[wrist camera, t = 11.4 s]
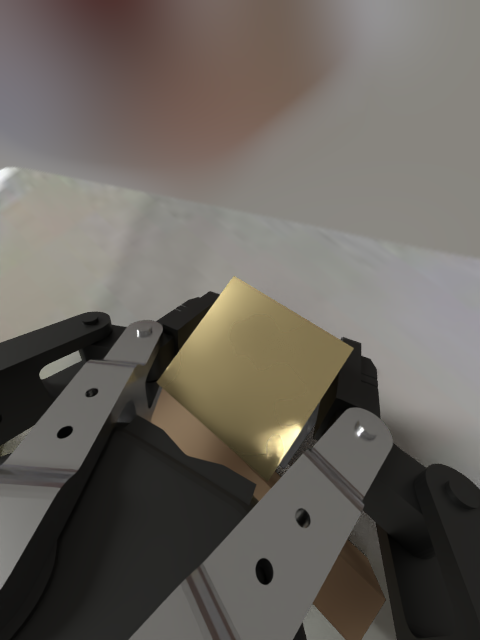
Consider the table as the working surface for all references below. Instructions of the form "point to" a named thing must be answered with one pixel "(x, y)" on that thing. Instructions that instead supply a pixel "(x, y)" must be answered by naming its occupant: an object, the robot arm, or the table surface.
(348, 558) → the brown square bar
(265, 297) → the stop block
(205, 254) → the table surface
